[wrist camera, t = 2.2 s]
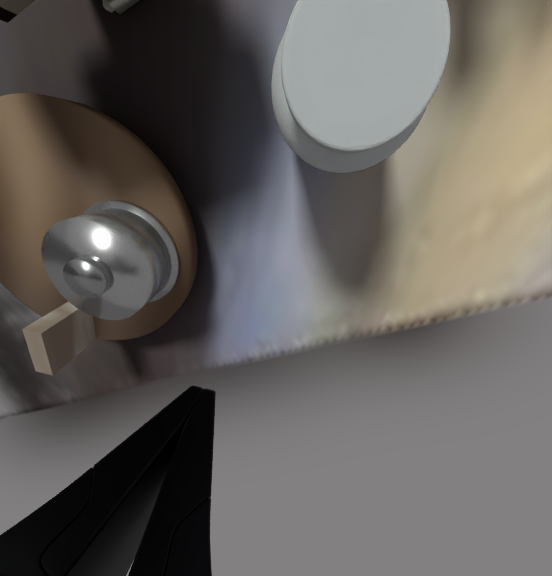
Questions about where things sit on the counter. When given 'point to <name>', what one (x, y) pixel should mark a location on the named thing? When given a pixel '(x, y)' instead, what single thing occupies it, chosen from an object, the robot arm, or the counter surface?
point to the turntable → (77, 214)
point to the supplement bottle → (357, 77)
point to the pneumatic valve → (8, 3)
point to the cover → (111, 259)
